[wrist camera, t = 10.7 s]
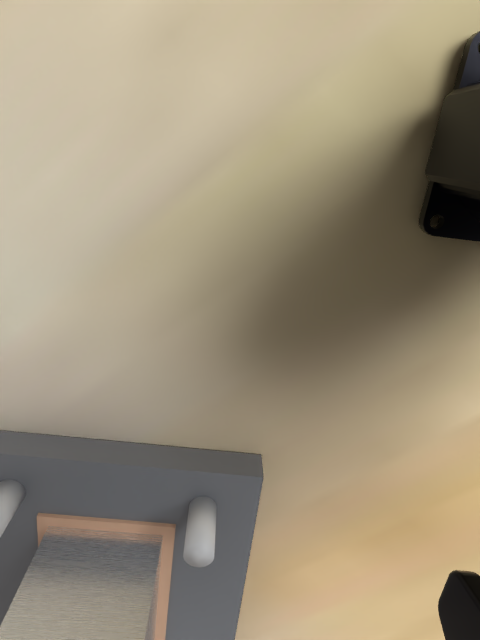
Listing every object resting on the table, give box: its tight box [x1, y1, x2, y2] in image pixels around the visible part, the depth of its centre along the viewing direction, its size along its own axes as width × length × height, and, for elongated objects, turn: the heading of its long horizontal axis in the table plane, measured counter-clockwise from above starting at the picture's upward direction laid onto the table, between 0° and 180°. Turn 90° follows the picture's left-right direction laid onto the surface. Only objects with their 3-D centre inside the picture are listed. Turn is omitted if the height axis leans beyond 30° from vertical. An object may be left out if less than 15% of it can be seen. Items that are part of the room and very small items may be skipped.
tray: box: [0, 430, 263, 640], centre depth 21 cm, size 13×16×4 cm
